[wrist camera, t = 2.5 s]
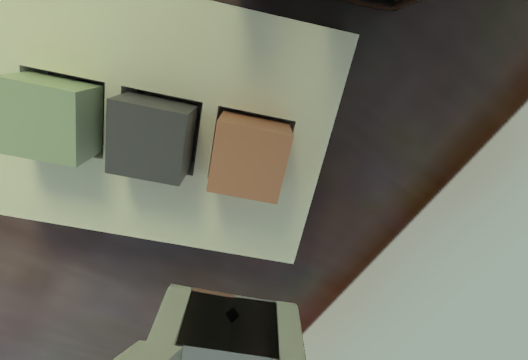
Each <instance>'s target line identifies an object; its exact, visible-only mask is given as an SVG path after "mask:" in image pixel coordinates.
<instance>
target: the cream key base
mask: <svg viewBox="0 0 528 360" xmlns="http://www.w3.org/2000/svg"><path fill="white" fill-rule="evenodd" d="M358 38H359V34H354V33H350V32H346V31H341V30H337V29H333V28H328V27H324V26H320V25H315V24H311V23H307V22H302V21H298V20H294V19H289V18H285V17H281V16H276V15H272V14H268V13H263V12H259V11H255V10H250V9H246V8H242V7H237V6H233V5H228V4H224V3H220V2H215V1H211V0H0V74H7V73H18V72H29V71H33V72H37V73H42V74H47V75H52V76H57V77H62V78H67V79H72V80H77V81H82V82H87V83H91V84H96V85H101V86H103V128H102V152H100V153H99V154H97V155H95V156H94V157H92V158H91V159H89V160H88V161H86V162H84V163H83V164H81V165H80V166H78V167H76V168H75V167H70V166H65V165H59V164H54V163H48V162H43V161H37V160H32V159H26V158H21V157H15V156H10V155H4V154H0V215H5V216H11V217H17V218H23V219H29V220H35V221H41V222H47V223H53V224H59V225H64V226H70V227H76V228H82V229H88V230H94V231H100V232H106V233H112V234H118V235H124V236H130V237H135V238H141V239H147V240H153V241H159V242H165V243H171V244H177V245H183V246H189V247H195V248H201V249H207V250H212V251H218V252H224V253H230V254H236V255H242V256H248V257H254V258H260V259H266V260H272V261H278V262H283V263H289V264H294V261H295V257H296V254H297V250H298V247H299V243H300V240H301V236H302V233H303V229H304V226H305V222H306V219H307V215H308V212H309V209H310V205H311V202H312V198H313V195H314V191H315V188H316V184H317V181H318V177H319V174H320V170H321V167H322V163H323V160H324V156H325V153H326V149H327V146H328V142H329V139H330V135H331V132H332V128H333V125H334V121H335V118H336V115H337V111H338V108H339V104H340V101H341V97H342V94H343V90H344V87H345V83H346V80H347V76H348V73H349V69H350V66H351V62H352V59H353V55H354V52H355V48H356V45H357V41H358ZM129 91H131V92H136V93H141V94H145V95H150V96H155V97H160V98H165V99H170V100H175V101H180V102H185V103H190V104H194V105H198V113H197V120H196V128H195V136H194V144H193V152H192V160H191V167H190V169H189V171H188V173H187V174H186V176H185V178H184V179H183V181H182V183H181V184H180V186H174V185H168V184H163V183H157V182H152V181H146V180H141V179H136V178H130V177H125V176H119V175H114V174H108V173H105V143H106V100H107V98H110V97H113V96H116V95H119V94H123V93H126V92H129ZM223 111H229V112H234V113H239V114H244V115H248V116H253V117H258V118H263V119H268V120H273V121H278V122H283V123H288V124H290V127H291V130H292V133H293V135H294V137H293V141H292V145H291V150H290V154H289V158H288V162H287V166H286V170H285V174H284V178H283V182H282V186H281V190H280V195H279V199H278V203H277V204H272V203H267V202H261V201H256V200H250V199H245V198H239V197H234V196H228V195H223V194H217V193H212V192H207V191H206V190H207V184H208V177H209V170H210V164H211V157H212V151H213V144H214V137H215V131H216V124H217V120H218V118H219V117H220V115H221V114H222V112H223Z"/></svg>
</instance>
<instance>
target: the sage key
mask: <svg viewBox="0 0 528 360" xmlns="http://www.w3.org/2000/svg"><path fill="white" fill-rule="evenodd" d="M102 128H103V86H101V85H96V84H91V83H87V82H82V81H77V80H72V79H67V78H62V77H57V76H52V75H47V74H42V73H37V72H33V71H29V72H18V73H7V74H0V154H4V155H10V156H15V157H21V158H26V159H32V160H37V161H43V162H48V163H54V164H59V165H65V166H70V167H75V168H76V167H78V166H80V165H81V164H83V163H84V162H86V161H88V160H89V159H91V158H92V157H94V156H95V155H97V154H99V153H100V152H102Z"/></svg>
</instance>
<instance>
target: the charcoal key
mask: <svg viewBox="0 0 528 360" xmlns="http://www.w3.org/2000/svg"><path fill="white" fill-rule="evenodd" d="M197 113H198V105H194V104H190V103H185V102H180V101H175V100H170V99H165V98H160V97H155V96H150V95H145V94H141V93H136V92H131V91H129V92H126V93H123V94H119V95H116V96H113V97H110V98H107V100H106V143H105V173H108V174H114V175H119V176H125V177H130V178H136V179H141V180H146V181H152V182H157V183H163V184H168V185H174V186H180V184H181V183H182V181H183V179H184V178H185V176H186V174H187V173H188V171H189V169H190V167H191V160H192V152H193V144H194V136H195V128H196V120H197Z"/></svg>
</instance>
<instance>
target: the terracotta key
mask: <svg viewBox="0 0 528 360" xmlns="http://www.w3.org/2000/svg"><path fill="white" fill-rule="evenodd" d="M293 137H294V135H293V133H292V130H291V127H290V124H288V123H283V122H278V121H273V120H268V119H263V118H258V117H253V116H248V115H244V114H239V113H234V112H229V111H223V112H222V114H221V115H220V117H219V118H218V120H217V124H216V131H215V137H214V144H213V151H212V157H211V164H210V170H209V177H208V184H207V190H206V191H207V192H212V193H217V194H223V195H228V196H234V197H239V198H245V199H250V200H256V201H261V202H267V203H272V204H277V203H278V199H279V195H280V190H281V186H282V182H283V178H284V174H285V170H286V166H287V162H288V158H289V154H290V150H291V145H292V141H293Z"/></svg>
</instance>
